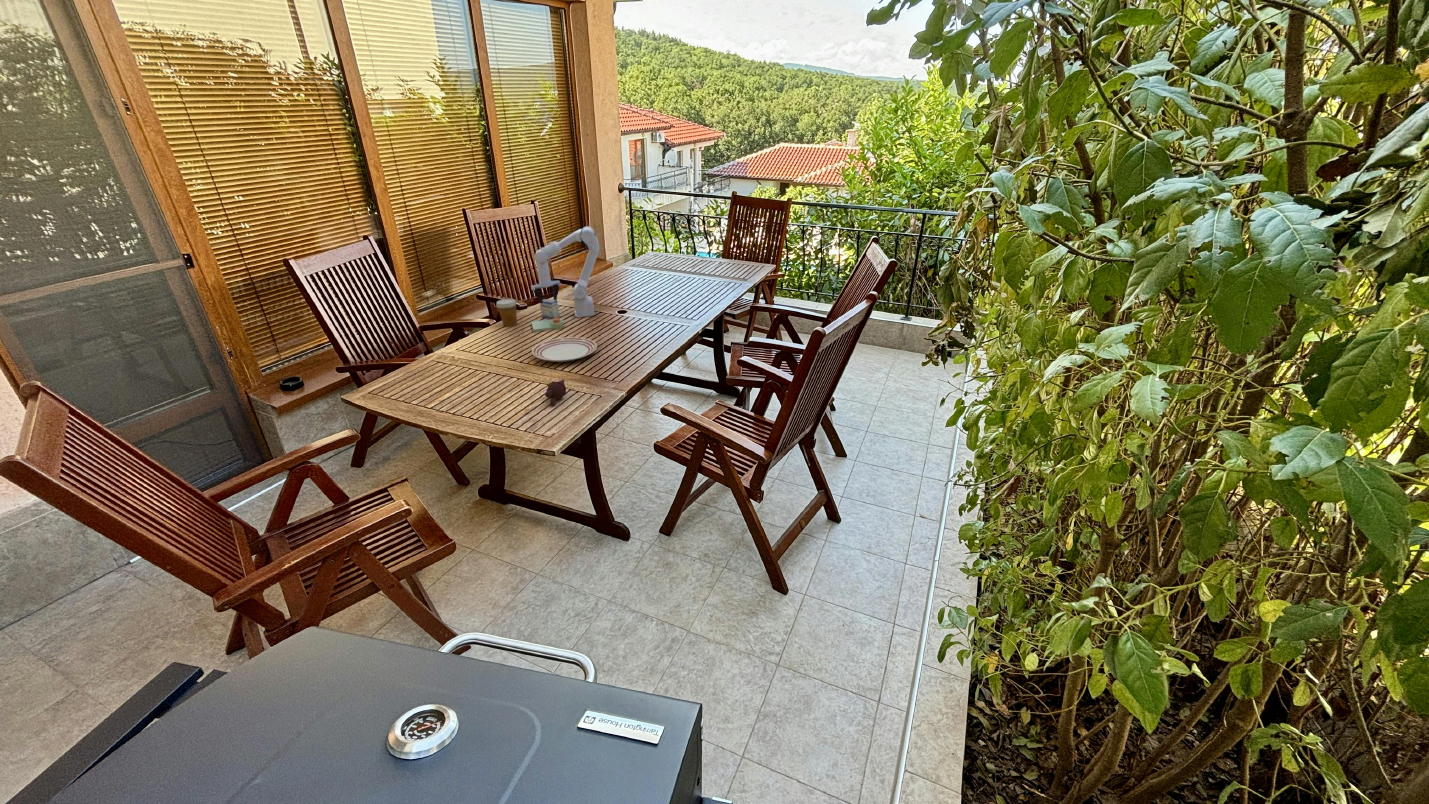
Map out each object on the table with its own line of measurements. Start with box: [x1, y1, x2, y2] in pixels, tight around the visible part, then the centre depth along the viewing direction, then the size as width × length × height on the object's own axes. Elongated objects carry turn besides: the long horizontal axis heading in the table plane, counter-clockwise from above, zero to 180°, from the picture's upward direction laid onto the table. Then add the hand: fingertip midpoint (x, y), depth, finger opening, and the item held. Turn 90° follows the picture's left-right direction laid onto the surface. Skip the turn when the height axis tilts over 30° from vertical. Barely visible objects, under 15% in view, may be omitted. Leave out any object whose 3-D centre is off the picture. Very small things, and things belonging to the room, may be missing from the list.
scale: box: [530, 318, 564, 333], centre depth 291 cm, size 15×13×3 cm
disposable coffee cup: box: [495, 298, 518, 328], centre depth 292 cm, size 10×10×12 cm
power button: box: [553, 317, 561, 323], centre depth 288 cm, size 3×3×2 cm
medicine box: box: [539, 298, 560, 319], centre depth 302 cm, size 8×4×9 cm, turn 68°
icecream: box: [544, 379, 567, 407], centre depth 220 cm, size 7×7×15 cm
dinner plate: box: [531, 336, 598, 363], centre depth 258 cm, size 27×27×3 cm
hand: (548, 301), depth 300 cm, fingers open, 7 cm apart
